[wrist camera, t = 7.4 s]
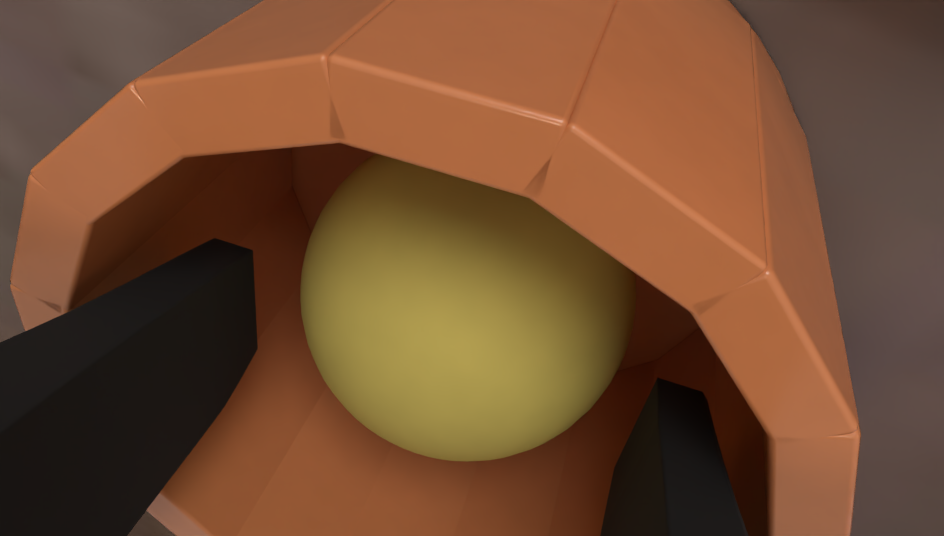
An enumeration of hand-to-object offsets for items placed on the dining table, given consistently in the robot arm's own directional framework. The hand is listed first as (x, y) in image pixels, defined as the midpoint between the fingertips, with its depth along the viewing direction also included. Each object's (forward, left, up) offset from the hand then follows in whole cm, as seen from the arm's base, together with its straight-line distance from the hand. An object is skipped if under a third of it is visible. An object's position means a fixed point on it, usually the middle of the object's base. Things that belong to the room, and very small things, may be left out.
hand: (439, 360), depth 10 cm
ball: (0, 0, -2) cm, 2 cm away
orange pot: (0, 0, -5) cm, 5 cm away
